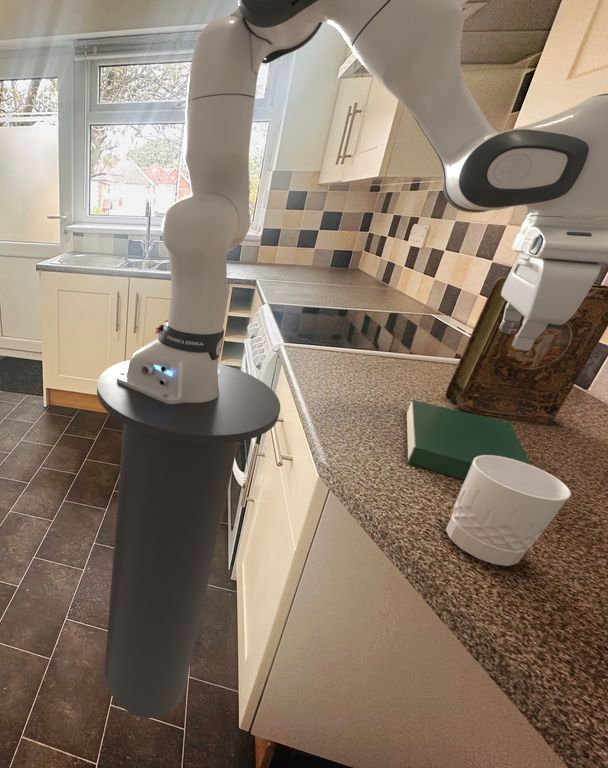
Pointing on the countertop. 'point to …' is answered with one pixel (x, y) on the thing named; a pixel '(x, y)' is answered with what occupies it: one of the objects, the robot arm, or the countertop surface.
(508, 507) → the white cup
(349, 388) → the countertop surface
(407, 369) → the countertop surface
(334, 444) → the countertop surface
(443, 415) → the hardback
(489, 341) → the book
